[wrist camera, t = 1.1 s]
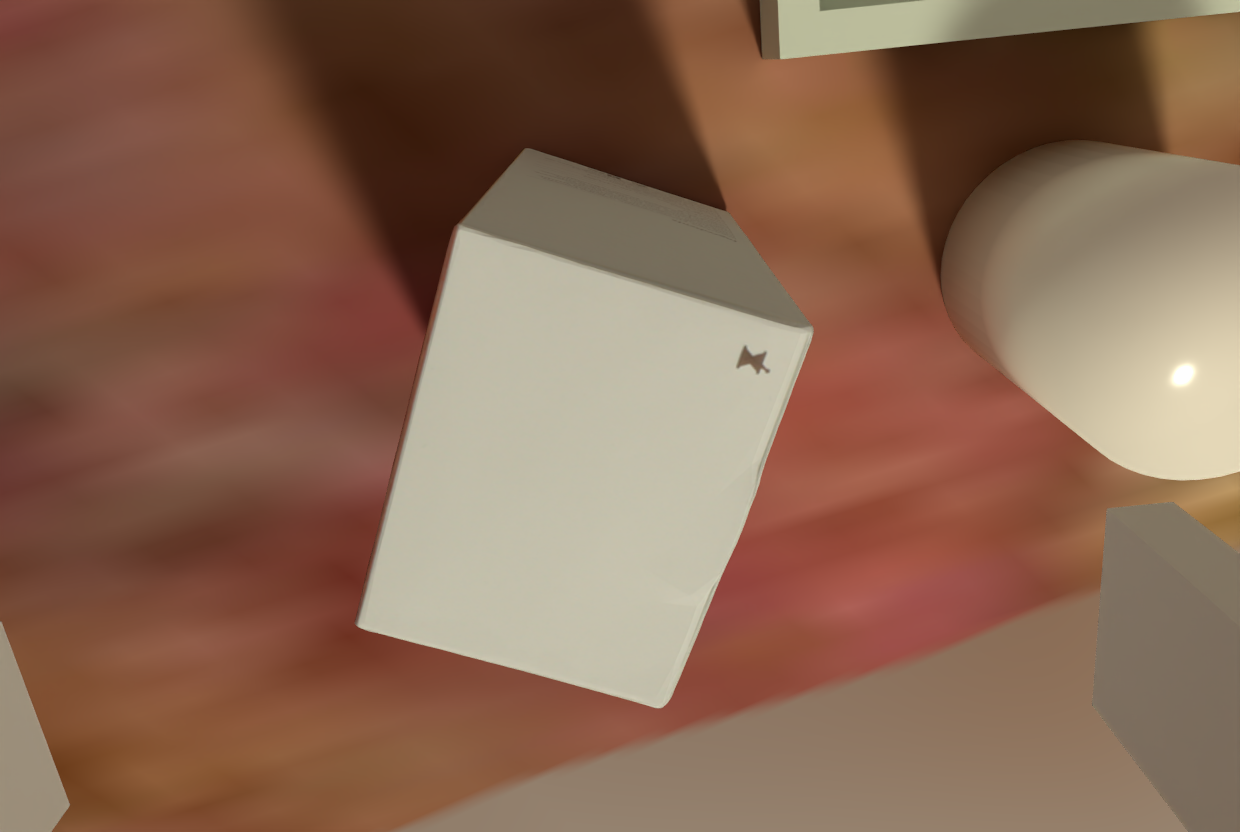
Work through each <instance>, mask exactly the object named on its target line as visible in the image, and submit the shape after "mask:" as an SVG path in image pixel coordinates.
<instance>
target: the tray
mask: <svg viewBox="0 0 1240 832" xmlns="http://www.w3.org/2000/svg"><path fill="white" fill-rule="evenodd" d="M1231 12H1240V0H760V22H761V44H762V59H787V58H797V57H807V56H816V55H826V54H836V53H845V52H855V51H864V50H874V49H884V48H893V47H903V46H913V45H922V44H932V43H942V42H951V41H961V40H971V39H980V38H990V37H1000V36H1009V35H1019V34H1029V33H1038V32H1048V31H1058V30H1067V29H1077V28H1087V27H1096V26H1106V25H1116V24H1125V23H1135V22H1145V21H1154V20H1164V19H1173V18H1183V17H1193V16H1202V15H1212V14H1222V13H1231Z"/></svg>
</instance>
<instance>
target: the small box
mask: <svg viewBox="0 0 1240 832" xmlns="http://www.w3.org/2000/svg"><path fill="white" fill-rule="evenodd" d="M812 336H813V327H812V325H811V324H810V323H809V321H808V320H807V319H806V317H805V316H804V315H803V313H802V312H801V311H800V309H799V308H798V306H797V305H796V304H795V302H794V301H793V300H792V298H791V297H790V296H789V294H788V293H787V292H786V290H785V289H784V287H783V286H782V285H781V283H780V282H779V281H778V279H777V278H776V277H775V275H774V274H773V272H772V271H771V270H770V268H769V267H768V266H767V264H766V263H765V261H764V260H763V259H762V257H761V256H760V254H759V253H758V252H757V250H756V249H755V247H754V246H753V245H752V243H751V242H750V240H749V239H748V238H747V236H746V235H745V234H744V232H743V231H742V230H741V228H740V227H739V226H738V224H737V223H736V222H735V220H734V219H733V218H732V216H731V215H730V213H728V212H727V211H723V210H720V209H717V208H714V207H711V206H708V205H704V204H701V203H698V202H695V201H692V200H689V199H686V198H683V197H679V196H676V195H673V194H670V193H667V192H664V191H661V190H657V189H654V188H651V187H648V186H645V185H642V184H639V183H636V182H632V181H629V180H626V179H623V178H620V177H617V176H614V175H611V174H608V173H604V172H601V171H598V170H595V169H592V168H589V167H586V166H583V165H580V164H577V163H574V162H571V161H568V160H565V159H561V158H558V157H555V156H552V155H549V154H546V153H543V152H540V151H536V150H533V149H530V148H525V149H524V150H523V151H522V152H521V153H520V154H519V155H518V156H517V157H516V158H515V160H514V161H513V162H512V164H511V165H510V166H509V167H508V168H507V169H506V170H505V171H504V173H503V174H502V175H501V176H500V177H499V178H498V179H497V180H496V181H495V182H494V184H493V185H492V186H491V187H490V188H489V190H488V191H487V192H486V193H485V194H484V195H483V196H482V197H481V198H480V200H479V201H478V202H477V203H476V204H475V205H474V207H473V208H472V209H471V210H470V211H469V212H468V213H467V214H466V215H465V216H464V217H463V218H462V219H461V220H460V221H459V222H458V224H457V225H455V226H454V228H453V231H452V234H451V237H450V241H449V244H448V248H447V252H446V256H445V260H444V263H443V267H442V271H441V275H440V279H439V283H438V287H437V291H436V295H435V299H434V303H433V307H432V311H431V315H430V319H429V323H428V327H427V330H426V334H425V338H424V342H423V346H422V350H421V354H420V357H419V362H418V366H417V370H416V374H415V378H414V382H413V387H412V391H411V395H410V399H409V403H408V407H407V411H406V415H405V419H404V423H403V427H402V431H401V435H400V439H399V443H398V447H397V451H396V455H395V459H394V462H393V467H392V471H391V475H390V479H389V484H388V488H387V492H386V496H385V501H384V505H383V509H382V513H381V518H380V522H379V526H378V530H377V534H376V538H375V542H374V545H373V549H372V553H371V556H370V560H369V564H368V568H367V573H366V577H365V581H364V586H363V590H362V594H361V599H360V603H359V607H358V611H357V616H356V620H355V624H356V625H357V626H358V627H359V628H361V629H364V630H368V631H372V632H376V633H380V634H383V635H387V636H391V637H395V638H399V639H402V640H406V641H410V642H414V643H418V644H422V645H426V646H430V647H434V648H438V649H442V650H445V651H449V652H453V653H457V654H460V655H464V656H468V657H472V658H476V659H480V660H483V661H487V662H491V663H495V664H499V665H503V666H506V667H510V668H514V669H518V670H522V671H526V672H529V673H533V674H537V675H540V676H544V677H547V678H551V679H555V680H558V681H562V682H566V683H569V684H573V685H576V686H580V687H584V688H587V689H591V690H594V691H598V692H602V693H605V694H609V695H613V696H616V697H620V698H623V699H627V700H631V701H634V702H638V703H641V704H644V705H648V706H651V707H654V708H662V707H664V706H665V705H666V704H667V703H668V701H669V700H670V698H671V696H672V694H673V692H674V689H675V687H676V685H677V682H678V680H679V678H680V675H681V673H682V671H683V668H684V666H685V663H686V661H687V659H688V656H689V654H690V651H691V649H692V647H693V644H694V642H695V640H696V637H697V635H698V632H699V630H700V627H701V625H702V622H703V619H704V617H705V615H706V612H707V610H708V607H709V605H710V603H711V600H712V598H713V595H714V593H715V590H716V588H717V585H718V583H719V581H720V578H721V576H722V574H723V571H724V569H725V567H726V565H727V563H728V561H729V558H730V556H731V554H732V552H733V550H734V548H735V546H736V544H737V541H738V539H739V536H740V534H741V532H742V529H743V526H744V524H745V521H746V518H747V516H748V513H749V509H750V507H751V505H752V502H753V500H754V497H755V495H756V492H757V489H758V486H759V482H760V478H761V474H762V471H763V468H764V465H765V462H766V459H767V456H768V453H769V451H770V448H771V445H772V443H773V440H774V438H775V435H776V432H777V429H778V426H779V424H780V421H781V419H782V416H783V414H784V411H785V409H786V406H787V403H788V400H789V398H790V395H791V392H792V389H793V387H794V384H795V381H796V379H797V376H798V374H799V371H800V369H801V366H802V363H803V361H804V358H805V355H806V353H807V350H808V348H809V345H810V343H811V339H812Z"/></svg>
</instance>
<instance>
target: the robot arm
mask: <svg viewBox="0 0 1240 832" xmlns="http://www.w3.org/2000/svg"><path fill="white" fill-rule="evenodd" d="M1092 706H1093V707H1094V708H1095V710H1096V711H1097V712H1098V713H1099V715H1100V716H1101V717H1102V719H1103V720H1104V721H1105V723H1106V724H1107V725H1108V727H1109V728H1110V729H1111V731H1112V732H1113V733H1114V735H1115V736H1116V737H1117V739H1118V740H1119V741H1120V743H1121V744H1122V745H1123V746H1124V748H1125V749H1126V750H1127V752H1128V753H1129V754H1130V756H1131V757H1132V758H1133V760H1134V761H1135V762H1136V764H1137V765H1138V766H1139V768H1140V769H1141V770H1142V771H1143V772H1144V774H1145V775H1146V777H1147V778H1148V779H1149V781H1150V782H1151V783H1152V785H1153V786H1154V787H1155V789H1156V790H1157V791H1158V792H1159V794H1160V795H1161V796H1162V798H1163V799H1164V800H1165V802H1166V803H1167V804H1168V806H1169V807H1170V808H1171V810H1172V811H1173V812H1174V814H1175V815H1176V816H1177V817H1178V819H1179V820H1180V821H1181V823H1182V824H1183V825H1184V827H1185V828H1186V829H1187V831H1188V832H1240V554H1239V553H1238V552H1237V551H1236V550H1234V549H1233V548H1232V547H1230V546H1229V545H1228V544H1226V543H1225V542H1224V541H1223V540H1221V539H1220V538H1219V537H1217V536H1216V535H1215V534H1214V533H1212V532H1211V531H1210V530H1208V529H1207V528H1206V527H1205V526H1203V525H1202V524H1201V523H1199V522H1198V521H1197V520H1196V519H1194V518H1193V517H1192V516H1190V515H1189V514H1188V513H1187V512H1185V511H1184V510H1183V509H1181V508H1180V507H1179V506H1177V505H1176V504H1175V503H1174V502H1167V503H1157V504H1147V505H1137V506H1128V507H1118V508H1108V509H1107V514H1106V527H1105V540H1104V553H1103V567H1102V580H1101V593H1100V608H1099V620H1098V635H1097V648H1096V660H1095V675H1094V687H1093V700H1092ZM69 806H70V804H69V802H68V799H67V796H66V794H65V791H64V788H63V785H62V783H61V780H60V777H59V775H58V772H57V769H56V767H55V764H54V761H53V759H52V756H51V753H50V751H49V748H48V745H47V743H46V740H45V737H44V735H43V732H42V729H41V727H40V724H39V721H38V719H37V716H36V713H35V711H34V708H33V705H32V702H31V700H30V697H29V694H28V692H27V689H26V686H25V684H24V681H23V678H22V676H21V673H20V670H19V668H18V665H17V662H16V660H15V657H14V654H13V652H12V649H11V646H10V644H9V641H8V638H7V636H6V633H5V630H4V628H3V625H2V622H1V621H0V832H51V831H52V830H53V828H54V827H55V826H56V824H57V823H58V821H59V820H60V819H61V817H62V816H63V814H64V813H65V811H66V810H67V809H68V807H69Z"/></svg>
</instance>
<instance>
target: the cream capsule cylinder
mask: <svg viewBox="0 0 1240 832" xmlns="http://www.w3.org/2000/svg"><path fill="white" fill-rule="evenodd" d="M941 290H942V295H943V300H944V304H945V307H946V310H947V313H948V316H949V318H950V320H951V322H952V324H953V326H954V328H955V330H956V331H957V332H958V334H959V335H960V337H961V338H962V339H963V341H964V342H965V343H966V344H967V345H968V346H969V347H970V348H971V349H972V350H973V351H974V352H976V353H977V354H978V355H979V356H981V357H982V358H983V359H984V360H986V361H987V362H988V363H989V364H991V365H992V366H993V367H994V368H996V369H997V370H998V371H999V372H1001V373H1002V374H1003V375H1004V376H1006V377H1007V378H1008V379H1009V380H1011V381H1012V382H1013V383H1014V384H1016V385H1017V386H1018V387H1019V388H1021V389H1022V390H1023V391H1024V392H1026V393H1027V394H1028V395H1029V396H1031V397H1032V398H1033V399H1034V400H1035V401H1037V402H1038V403H1039V404H1040V405H1042V406H1043V407H1044V408H1045V409H1047V410H1048V411H1049V412H1050V413H1052V414H1053V415H1054V416H1055V417H1057V418H1058V419H1059V420H1060V421H1062V422H1063V423H1064V424H1065V425H1067V426H1068V427H1069V428H1070V429H1072V430H1073V431H1074V432H1075V433H1077V434H1078V435H1079V436H1080V437H1082V438H1083V439H1084V440H1085V441H1087V442H1088V443H1089V444H1090V445H1092V446H1093V447H1094V448H1095V449H1097V450H1098V451H1099V452H1101V453H1102V454H1103V455H1105V456H1106V457H1107V458H1109V459H1110V460H1112V461H1114V462H1115V463H1117V464H1119V465H1121V466H1123V467H1125V468H1127V469H1129V470H1132V471H1135V472H1138V473H1140V474H1143V475H1148V476H1152V477H1157V478H1161V479H1172V480H1201V479H1207V478H1214V477H1220V476H1224V475H1228V474H1232V473H1236V472H1239V471H1240V165H1234V164H1228V163H1222V162H1216V161H1210V160H1205V159H1199V158H1193V157H1187V156H1181V155H1175V154H1169V153H1163V152H1158V151H1152V150H1146V149H1140V148H1134V147H1128V146H1122V145H1117V144H1111V143H1105V142H1099V141H1090V140H1065V141H1059V142H1053V143H1048V144H1045V145H1042V146H1038V147H1035V148H1032V149H1030V150H1028V151H1026V152H1023V153H1021V154H1019V155H1017V156H1015V157H1014V158H1012V159H1010V160H1009V161H1007V162H1005V163H1003V164H1002V165H1001V166H1000V167H998V168H997V169H996V170H994V171H993V172H992V173H990V174H989V175H988V176H987V177H986V178H985V179H984V180H983V181H982V182H981V183H980V184H979V185H978V186H977V187H976V188H975V189H974V191H973V192H972V193H971V194H970V196H969V197H968V198H967V199H966V201H965V202H964V204H963V205H962V207H961V209H960V210H959V212H958V213H957V215H956V217H955V219H954V221H953V224H952V226H951V228H950V230H949V233H948V236H947V239H946V242H945V246H944V251H943V255H942V262H941Z"/></svg>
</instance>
